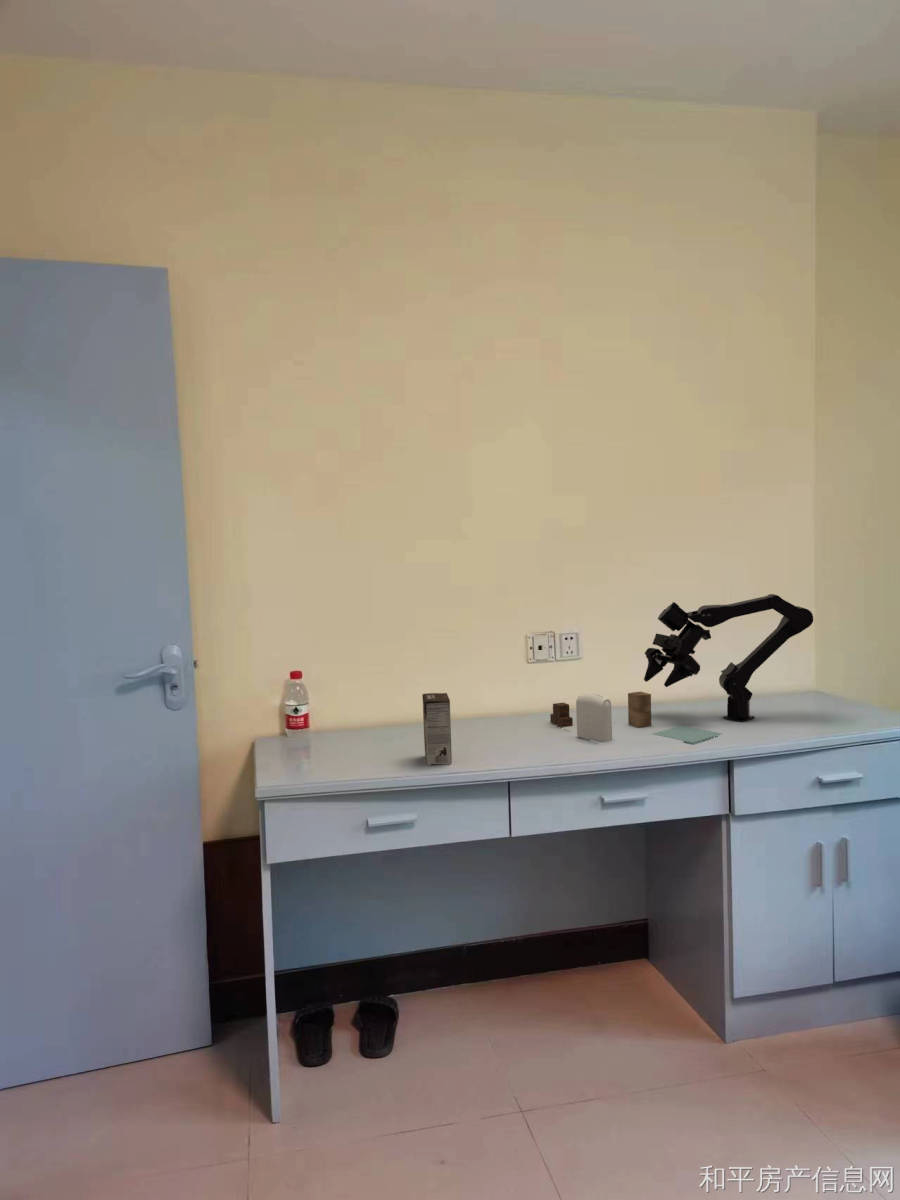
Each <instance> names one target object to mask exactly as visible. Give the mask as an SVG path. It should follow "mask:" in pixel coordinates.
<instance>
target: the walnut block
mask: <svg viewBox="0 0 900 1200" xmlns="http://www.w3.org/2000/svg"><path fill="white" fill-rule="evenodd" d="M627 707H628V708H627V709H628V711H627V713H628V714H627V715H628V719H627V720H628V723H627V724H628V725H629V726H632V727H634V728H637V729H638V728H643V727H644V728H645V727H646V728H647V727H652V694H651V693H648V692H645V691H634V692H628V693H627Z"/></svg>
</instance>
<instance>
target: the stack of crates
mask: <svg viewBox="0 0 900 1200" xmlns="http://www.w3.org/2000/svg"><path fill="white" fill-rule="evenodd" d="M549 715H550V720H549V721H550V723H552V724H554V725H553V726H555V725H557V726H558V728H559V727H561V728H566V727H573V726H574V725H573V724H574V723H573V720H574V719H573V717H571V716H570V704H569V703H566V702H558V703H552V713H550V714H549ZM561 728H560V729H561Z"/></svg>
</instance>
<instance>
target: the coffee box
mask: <svg viewBox="0 0 900 1200" xmlns="http://www.w3.org/2000/svg"><path fill="white" fill-rule="evenodd" d="M421 698H422V716H423V739H424V740H423V741H424V742H423V743H424V755H425V762H426V765H427V766H430V765H429V764H446V765H451V764H450V763H452V761H453V759H452V755H453V753H452V726H451V725H452V723H451V720H452V719H451V701H450V698H449V695H448V693H447V692H442V693H441V692H439V693H438V692H430V693H422V697H421ZM452 764H453V763H452Z"/></svg>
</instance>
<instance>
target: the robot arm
mask: <svg viewBox="0 0 900 1200" xmlns="http://www.w3.org/2000/svg"><path fill="white" fill-rule="evenodd" d="M771 610H774V611H775V612H777V613H778V614H780V615H781V616H782V618H781V620H780V621H779V623H778V624H777V627H776V628H775V629H774V630H773V631H772V632H771V633H770V634H769V635H768V636H767V637H766V638H765V639H763V641H761V643H760V644H759V645H757V647H755V649H753V651H751V652H750V653H749V654H748V655H746V657H745V658H744V659H743V660H742V661H740V662H739V663H737V664H735V663H733V662H729V664H728V665H727V667H726V668H724V669H723V670H721V671H720V672H721V675H720V676H719V678H718V683H719V685H720V687H721V688H722V689H723V690H724V691H725V692H726V694H727V695H728V697H727V705H726V711H727V712H726V715H723V716H722V718H723V719H726V720H732V721H737V722H746V721H749V720H752V719H755V716H754V715H750V704H751V703H750V701H751V699H752V696H753V692H752V691H750V690H749V689H748V688H747V685H748V683H749V681H750V679H751V678H752V675H753V674H754V673H755V672H756V671H757V669H759V667H761V666H762V665H763V664H764V663H765V662H766V661H767V660H768V659H770V657H771V656H773V654H774V653H776V651H778V650H779V648H780V647H782V646H783V645H784V644H785V643H786V642H787V641H788V640H789V639H791V638H793V637H795V636H797V635H799V634H801V633H802V632H803V631H805V630H806V629H808V628H810V627H811V626H812V624H813V622H814V614H813V613H812V611H811V610H809V609H808V608H805V607H801V606H799V605H798V606H796V605H795V604H792V603H791V602H789V601H787V600H785V599H783V598H782V597H781V596H779V595H777V594H774V593H770V594H767V595H766V596H765V595H764V596H761V597H756V598H755V597H754V598H752V599H747V600H742V601H738V602H733V603H729V604H709V605H708V604H707V605H706V604H705V605H702V606H700V607H699V608H698V609H697V610H693V611H688V612H687V611H685V610H684V609H683V608H681V607H680V605H678V604H677V603H676V602H674V601H673V602H671V603H670V604H669V605H668V606H667V607H666V608H664V609H663V610H661V611H662V612H661V613H660V614H659V615H658V617H657V620H658V621H659V622H661V623H662V624H663V625H665V627H666V628H668V629H669V630H671V632H675V631H677V632H679V634H678V635H676V634H674V633H673V634H672V633H671V634H670V635H666V634H663V633H662V634H661V633H655V635H654V638H653V641H652V645H654V646H657V647H660V648H661V649H659V648H655V647H647V649H646V650H645V652H644V655H645V657H646V659H647V661H648V662H647V669H646V671H645V674H644V677H643V680H644V682H646V683H647V682H649V681H650V680H652V679H653V678H654V677H655V676H656V675H658V674H659V673H661V672H662V671H663V670H664V667H666V666H667V665H668V664H673V669H672V670H671V672H670V673H669V675H668V676H667V678H666V679H665V681H664V684H663V685H664V686H663V687H665V688H668V687H670V686H672V685H674V684H676V683H678V682H680V681H682V680H684V679H687V678H688V677H689V678H690V677H692V676H693V675H694V676H697V675H698V674H699V672H700V671H701V665H700V663H698V661H697V660H696V659H695V658H694V657H693V656H692V655H695V653H696V650H695V648H696V646H698V644H699V643H700V641H701V639H703V640H704V641H707V640H710V639H712V635H711V630H710V629H705V628H703V627H706V628H713V627H715V626H719V625H721V624H723V623H725V622H727V621H729V620H731V619H735V618H738V617H742V616H746V615H751V614H756V613H760V612H761V613H762V612H765V611H771ZM695 623H696V624H695ZM698 623H699V624H698ZM700 624H701V625H702V626H703V627H702V626H701V625H700ZM664 653H665V654H664Z"/></svg>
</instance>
